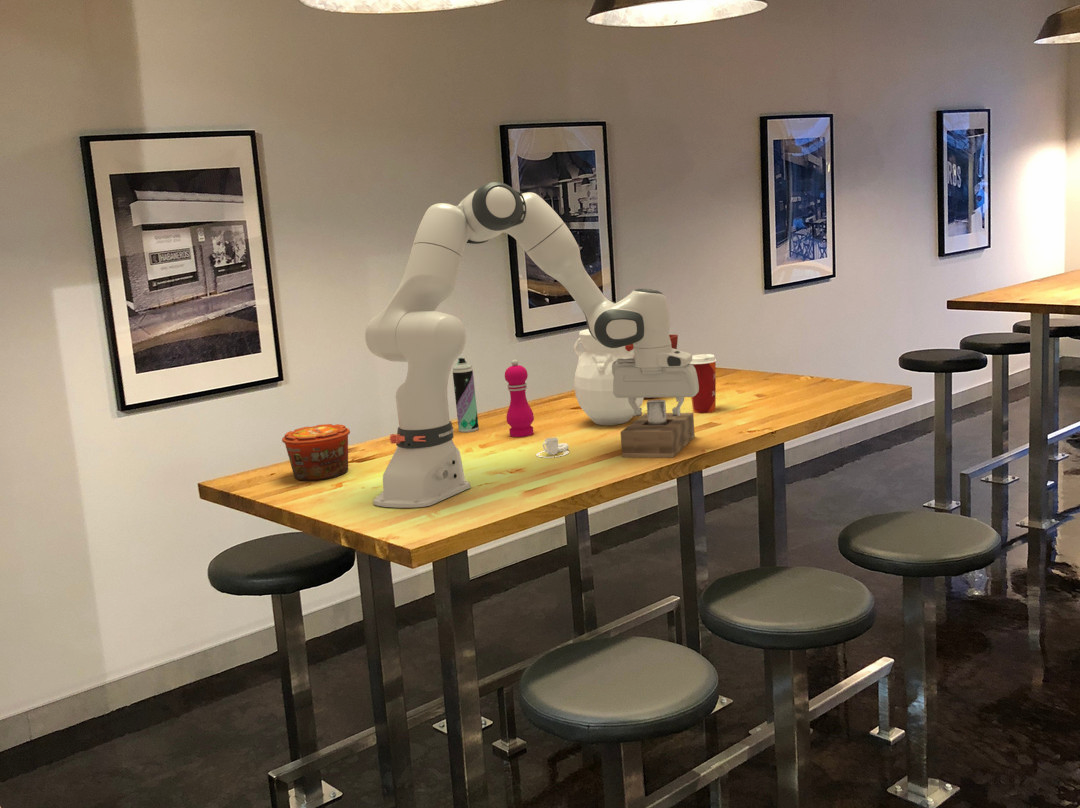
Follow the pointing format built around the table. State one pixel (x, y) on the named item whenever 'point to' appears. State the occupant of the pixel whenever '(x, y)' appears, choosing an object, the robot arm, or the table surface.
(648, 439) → the socket block
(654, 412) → the pin
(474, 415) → the spray can
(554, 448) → the teacup and saucer
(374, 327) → the robot arm
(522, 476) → the table surface
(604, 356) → the pitcher
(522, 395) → the pepper mill
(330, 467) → the food container
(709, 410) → the coffee cup
